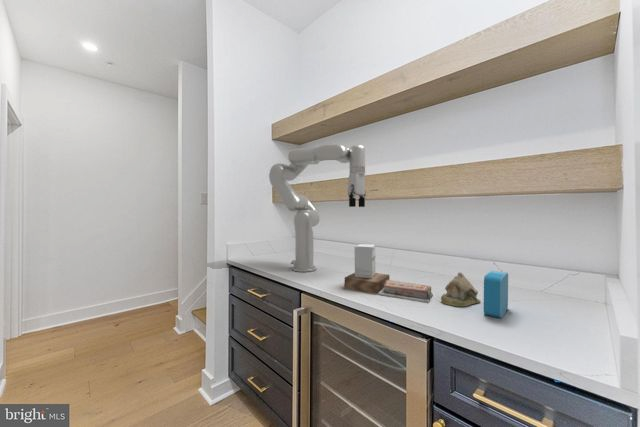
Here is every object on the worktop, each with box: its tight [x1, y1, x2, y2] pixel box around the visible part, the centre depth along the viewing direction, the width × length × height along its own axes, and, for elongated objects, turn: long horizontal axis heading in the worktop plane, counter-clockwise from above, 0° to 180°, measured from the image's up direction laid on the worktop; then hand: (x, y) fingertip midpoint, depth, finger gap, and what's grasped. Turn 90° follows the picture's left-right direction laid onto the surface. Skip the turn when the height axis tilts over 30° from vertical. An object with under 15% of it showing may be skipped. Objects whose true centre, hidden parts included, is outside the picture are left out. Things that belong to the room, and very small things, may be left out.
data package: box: [483, 270, 509, 319], centre depth 85 cm, size 12×4×12 cm, turn 137°
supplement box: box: [354, 243, 376, 278], centre depth 113 cm, size 7×7×13 cm
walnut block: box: [344, 272, 390, 295], centre depth 113 cm, size 14×14×5 cm
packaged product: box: [377, 279, 434, 304], centre depth 102 cm, size 18×5×10 cm
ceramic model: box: [440, 272, 481, 307], centre depth 95 cm, size 14×11×10 cm
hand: (357, 206), depth 133 cm, fingers open, 9 cm apart
